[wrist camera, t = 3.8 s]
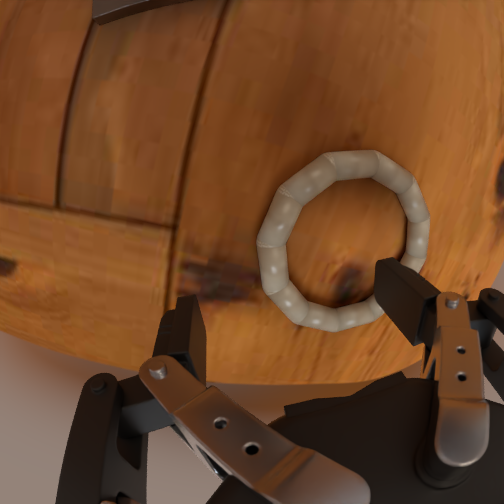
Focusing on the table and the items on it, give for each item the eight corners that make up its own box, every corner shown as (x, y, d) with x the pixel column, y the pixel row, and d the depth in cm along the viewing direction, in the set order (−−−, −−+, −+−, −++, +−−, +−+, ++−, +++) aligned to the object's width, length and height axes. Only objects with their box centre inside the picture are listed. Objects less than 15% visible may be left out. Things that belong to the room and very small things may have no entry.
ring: (268, 336, 18) (272, 351, 17) (243, 160, 14) (246, 163, 12) (410, 300, 19) (421, 310, 17) (420, 147, 14) (435, 149, 13)
